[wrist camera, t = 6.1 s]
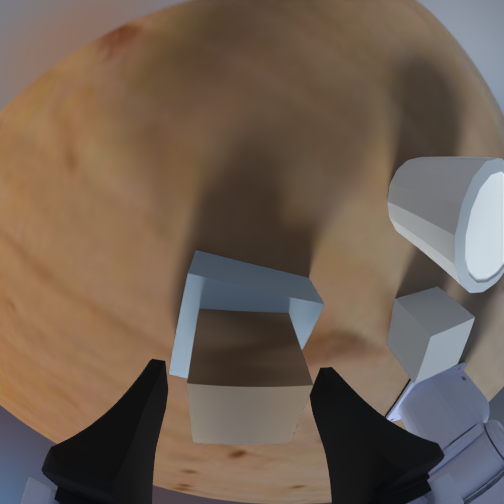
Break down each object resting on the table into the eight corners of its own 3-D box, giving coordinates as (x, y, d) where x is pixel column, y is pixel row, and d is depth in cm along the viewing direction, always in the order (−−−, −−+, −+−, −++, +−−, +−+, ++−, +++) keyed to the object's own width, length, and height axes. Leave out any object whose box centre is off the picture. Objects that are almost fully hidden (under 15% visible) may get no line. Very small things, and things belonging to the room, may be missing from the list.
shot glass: (396, 130, 14) (480, 130, 7) (461, 172, 15) (533, 192, 8) (364, 232, 16) (433, 282, 9) (433, 257, 17) (496, 301, 10)
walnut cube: (288, 312, 14) (313, 385, 9) (275, 374, 15) (289, 442, 10) (199, 308, 13) (186, 383, 8) (199, 371, 15) (193, 442, 10)
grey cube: (437, 285, 18) (475, 317, 13) (426, 330, 20) (457, 364, 15) (394, 297, 18) (430, 336, 13) (386, 343, 19) (414, 384, 15)
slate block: (307, 275, 17) (324, 304, 14) (271, 357, 19) (278, 392, 16) (196, 247, 16) (187, 273, 12) (177, 339, 18) (169, 374, 15)
